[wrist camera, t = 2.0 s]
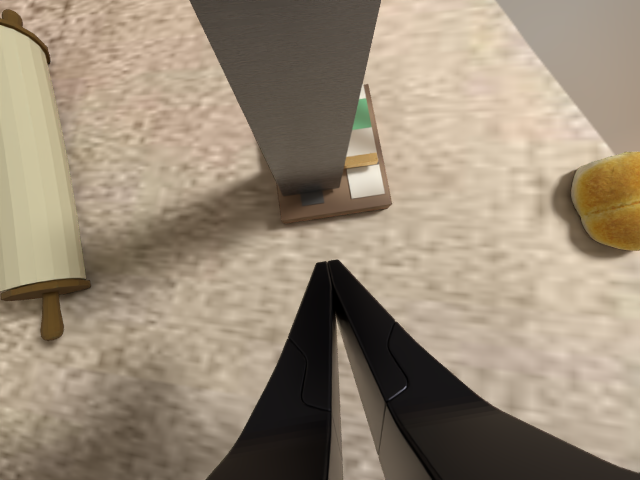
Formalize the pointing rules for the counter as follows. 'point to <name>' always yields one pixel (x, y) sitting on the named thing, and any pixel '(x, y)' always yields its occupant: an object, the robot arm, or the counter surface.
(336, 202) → the board
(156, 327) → the counter surface
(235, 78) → the grey square pillar
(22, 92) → the rolling pin
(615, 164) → the bread roll
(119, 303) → the counter surface
